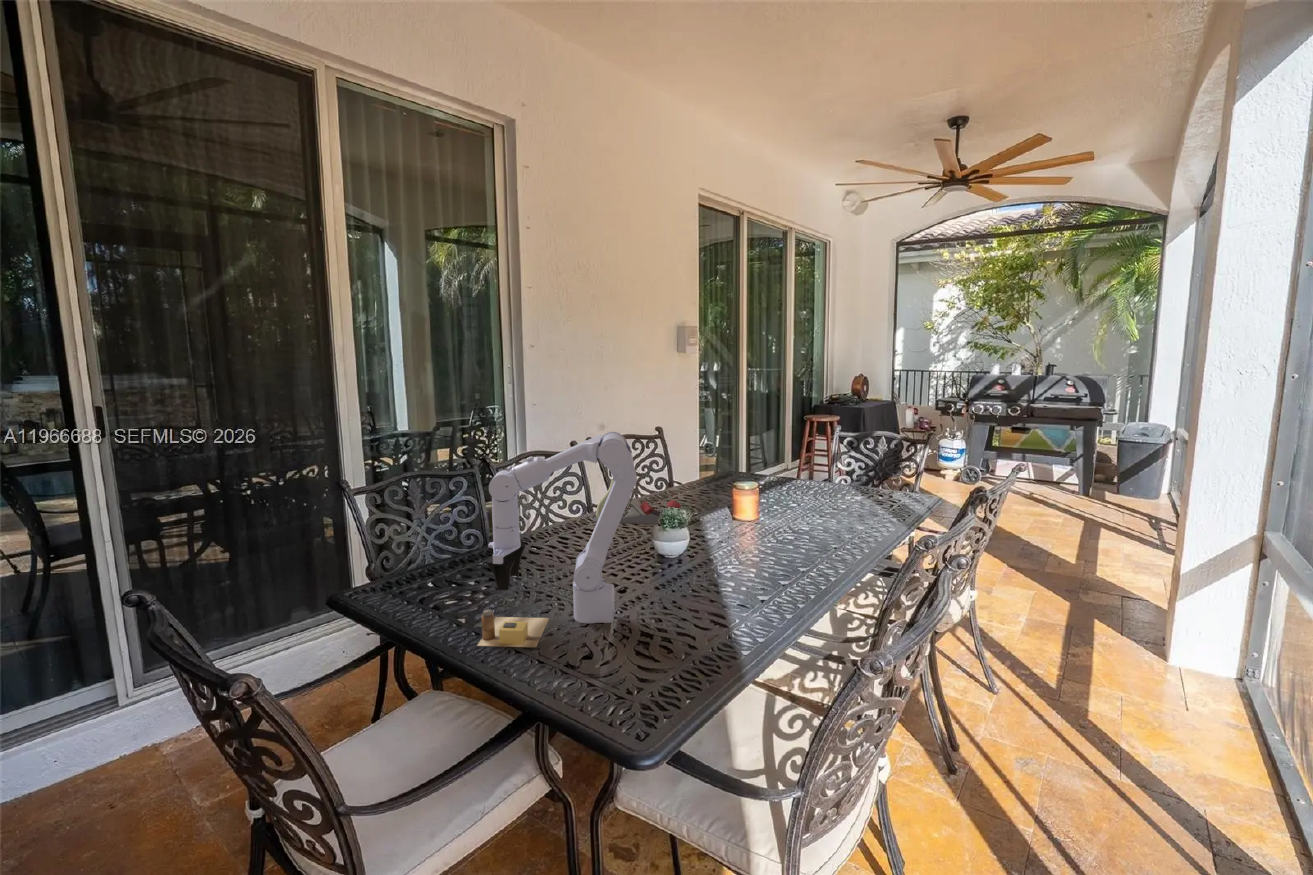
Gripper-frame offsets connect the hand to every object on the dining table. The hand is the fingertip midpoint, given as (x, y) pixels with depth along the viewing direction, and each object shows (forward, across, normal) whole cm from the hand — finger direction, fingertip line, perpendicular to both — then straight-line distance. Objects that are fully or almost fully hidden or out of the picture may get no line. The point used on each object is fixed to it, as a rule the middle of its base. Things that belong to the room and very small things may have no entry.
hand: (508, 582), depth 139 cm
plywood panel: (+10, +6, +3) cm, 12 cm away
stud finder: (+9, +9, +4) cm, 13 cm away
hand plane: (+10, -78, +23) cm, 82 cm away
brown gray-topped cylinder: (+9, +9, -2) cm, 13 cm away
